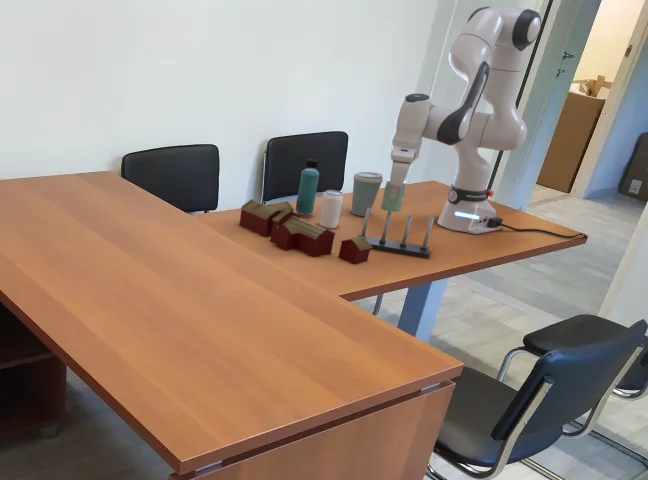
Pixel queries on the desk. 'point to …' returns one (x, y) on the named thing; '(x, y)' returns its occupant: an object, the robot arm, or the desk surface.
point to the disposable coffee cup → (365, 191)
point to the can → (331, 209)
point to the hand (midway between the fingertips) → (393, 194)
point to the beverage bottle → (307, 188)
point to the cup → (392, 203)
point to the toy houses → (298, 232)
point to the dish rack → (395, 245)
